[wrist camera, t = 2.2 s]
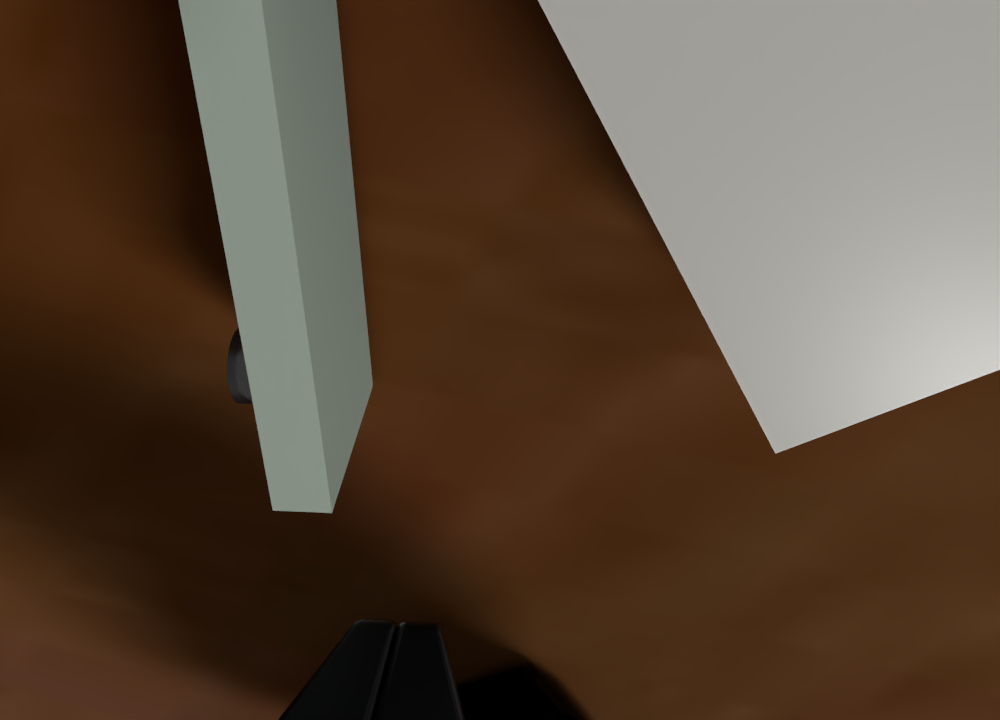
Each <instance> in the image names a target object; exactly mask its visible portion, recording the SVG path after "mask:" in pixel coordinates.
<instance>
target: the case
mask: <svg viewBox="0 0 1000 720" xmlns="http://www.w3.org/2000/svg"><path fill="white" fill-rule="evenodd" d="M538 2H539V3H540V5H541V7H542V9H543V11H544V13H545V15H546V17H547V19H548V21H549V23H550V24H551V26H552V28H553V30H554V32H555V34H556V36H557V38H558V40H559V42H560V44H561V45H562V47H563V49H564V51H565V53H566V55H567V57H568V59H569V61H570V63H571V65H572V66H573V68H574V70H575V72H576V74H577V76H578V78H579V80H580V82H581V84H582V86H583V87H584V89H585V91H586V93H587V95H588V97H589V99H590V101H591V103H592V105H593V107H594V108H595V110H596V112H597V114H598V116H599V118H600V120H601V122H602V124H603V126H604V127H605V129H606V131H607V133H608V135H609V137H610V139H611V141H612V143H613V145H614V147H615V148H616V150H617V152H618V154H619V156H620V158H621V160H622V162H623V164H624V166H625V168H626V169H627V171H628V173H629V175H630V177H631V179H632V181H633V183H634V185H635V187H636V189H637V190H638V192H639V194H640V196H641V198H642V200H643V202H644V204H645V206H646V208H647V210H648V211H649V213H650V215H651V217H652V219H653V221H654V223H655V225H656V227H657V229H658V231H659V232H660V234H661V236H662V238H663V240H664V242H665V244H666V246H667V248H668V250H669V252H670V253H671V255H672V257H673V259H674V261H675V263H676V265H677V267H678V269H679V271H680V273H681V274H682V276H683V278H684V280H685V282H686V284H687V286H688V288H689V290H690V292H691V294H692V295H693V297H694V299H695V301H696V303H697V305H698V307H699V309H700V311H701V313H702V315H703V316H704V318H705V320H706V322H707V324H708V326H709V328H710V330H711V332H712V334H713V335H714V337H715V339H716V341H717V343H718V345H719V347H720V349H721V351H722V353H723V355H724V356H725V358H726V360H727V362H728V364H729V366H730V368H731V370H732V372H733V374H734V376H735V377H736V379H737V381H738V383H739V385H740V387H741V389H742V391H743V393H744V395H745V397H746V398H747V400H748V402H749V404H750V406H751V408H752V410H753V412H754V414H755V416H756V418H757V419H758V421H759V423H760V425H761V427H762V429H763V431H764V433H765V435H766V437H767V439H768V440H769V442H770V444H771V446H772V448H773V450H774V452H775V454H776V453H778V452H781V451H784V450H786V449H789V448H792V447H794V446H797V445H800V444H802V443H805V442H808V441H810V440H813V439H816V438H818V437H821V436H824V435H826V434H829V433H832V432H834V431H837V430H840V429H842V428H845V427H848V426H850V425H853V424H856V423H858V422H861V421H864V420H866V419H869V418H872V417H874V416H877V415H880V414H882V413H885V412H888V411H890V410H893V409H896V408H898V407H901V406H904V405H906V404H909V403H912V402H914V401H917V400H920V399H922V398H925V397H928V396H930V395H933V394H936V393H938V392H941V391H944V390H946V389H949V388H952V387H954V386H957V385H960V384H962V383H965V382H968V381H970V380H973V379H976V378H978V377H981V376H984V375H986V374H989V373H992V372H994V371H997V370H1000V0H538Z"/></svg>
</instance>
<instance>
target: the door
mask: <svg viewBox="0 0 1000 720" xmlns="http://www.w3.org/2000/svg"><path fill="white" fill-rule="evenodd" d="M178 1H179V7H180V12H181V17H182V23H183V28H184V34H185V39H186V45H187V50H188V55H189V61H190V66H191V72H192V77H193V82H194V88H195V93H196V99H197V104H198V109H199V115H200V120H201V126H202V131H203V136H204V142H205V147H206V153H207V158H208V164H209V169H210V174H211V180H212V185H213V191H214V196H215V201H216V207H217V212H218V218H219V223H220V228H221V234H222V239H223V245H224V250H225V255H226V261H227V266H228V272H229V277H230V283H231V288H232V293H233V299H234V304H235V310H236V315H237V320H238V326H239V328H238V329H237V330H236V331H235V333H234V335H233V337H232V340H231V343H230V348H229V354H228V365H227V373H228V384H229V389H230V392H231V395H232V398H233V399H234V401H235V402H237V403H241V404H253V407H254V412H255V418H256V423H257V429H258V434H259V439H260V445H261V450H262V456H263V461H264V466H265V472H266V477H267V483H268V488H269V493H270V499H271V504H272V510H273V511H294V512H318V513H332V512H333V508H334V505H335V502H336V499H337V496H338V493H339V490H340V487H341V483H342V480H343V477H344V474H345V471H346V468H347V465H348V462H349V458H350V455H351V452H352V449H353V446H354V443H355V440H356V437H357V433H358V430H359V427H360V424H361V421H362V418H363V415H364V412H365V408H366V405H367V402H368V399H369V396H370V393H371V390H372V387H373V382H372V372H371V361H370V351H369V340H368V330H367V319H366V309H365V298H364V288H363V277H362V267H361V256H360V246H359V235H358V225H357V214H356V204H355V193H354V183H353V172H352V162H351V151H350V141H349V130H348V120H347V109H346V99H345V88H344V78H343V67H342V57H341V46H340V36H339V25H338V15H337V4H336V0H178Z"/></svg>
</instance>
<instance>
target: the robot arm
mask: <svg viewBox="0 0 1000 720" xmlns="http://www.w3.org/2000/svg"><path fill="white" fill-rule="evenodd" d="M278 720H580V719H579V718H578V717H577V716H575V715H574V714H572V713H571V712H570V711H569V709H568V708H567V707H566V706H565V704H564V703H563V702H562V701H561V700H560V698H559V697H558V696H557V695H556V693H555V692H554V691H553V690H552V689H551V687H550V686H549V685H548V684H547V682H546V681H545V680H544V679H543V677H542V676H541V675H540V674H539V673H538V672H537V671H536V670H533V669H531V668H524V667H522V668H516V669H513V670H510V671H507V672H504V673H501V674H498V675H495V676H492V677H489V678H486V679H483V680H480V681H477V682H474V683H471V684H468V685H464V686H461V687H458V688H457V687H456V683H455V679H454V675H453V671H452V667H451V663H450V659H449V655H448V651H447V647H446V643H445V639H444V635H443V632H442V628H441V627H440V625H439V624H437V623H434V622H413V621H406V622H403V623H401V624H400V625H398V623H396V622H395V621H392V620H372V619H362V620H359V621H357V622H356V623H354V624H353V626H352V627H351V628H350V629H349V630H348V632H347V633H346V634H345V635H344V637H343V638H342V639H341V640H340V642H339V643H338V644H337V646H336V647H335V648H334V649H333V651H332V652H331V653H330V654H329V656H328V657H327V658H326V660H325V661H324V662H323V663H322V665H321V666H320V667H319V668H318V670H317V671H316V672H315V674H314V675H313V676H312V677H311V679H310V680H309V681H308V682H307V684H306V685H305V686H304V688H303V689H302V690H301V691H300V693H299V694H298V695H297V696H296V698H295V699H294V700H293V701H292V703H291V704H290V705H289V707H288V708H287V709H286V710H285V712H284V713H283V714H282V715H281V717H280V718H279V719H278Z"/></svg>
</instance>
